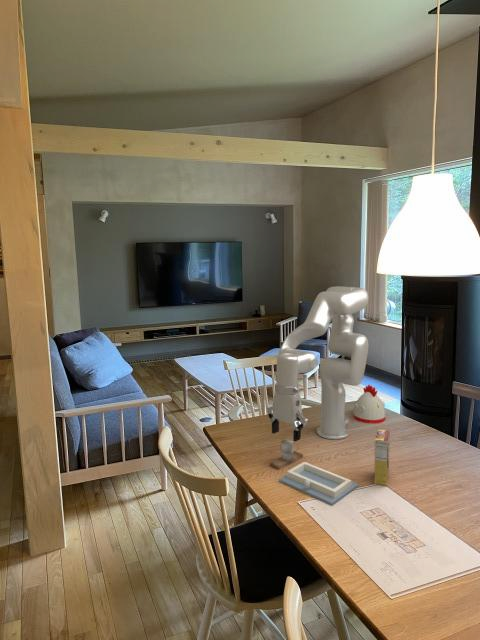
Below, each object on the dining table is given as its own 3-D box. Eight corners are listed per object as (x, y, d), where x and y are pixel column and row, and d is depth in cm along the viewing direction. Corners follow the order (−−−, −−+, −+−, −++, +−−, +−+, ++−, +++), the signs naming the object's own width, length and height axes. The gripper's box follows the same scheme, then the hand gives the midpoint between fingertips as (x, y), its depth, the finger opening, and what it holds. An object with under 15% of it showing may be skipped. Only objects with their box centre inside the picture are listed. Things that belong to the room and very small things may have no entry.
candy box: (375, 471, 155) (377, 428, 153) (389, 473, 154) (390, 430, 151) (373, 484, 147) (374, 439, 144) (387, 486, 145) (389, 441, 143)
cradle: (306, 465, 160) (306, 456, 159) (358, 486, 145) (358, 476, 145) (279, 481, 149) (279, 471, 149) (332, 505, 135) (332, 495, 134)
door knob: (294, 454, 169) (294, 435, 167) (303, 458, 165) (303, 438, 164) (269, 466, 160) (269, 446, 159) (279, 470, 157) (279, 450, 155)
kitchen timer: (366, 425, 194) (368, 391, 192) (346, 415, 207) (347, 383, 204) (392, 420, 200) (393, 387, 198) (370, 410, 212) (372, 379, 210)
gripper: (313, 392, 155) (312, 440, 157) (274, 382, 167) (274, 427, 169) (300, 397, 149) (299, 446, 152) (261, 386, 161) (260, 432, 164)
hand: (285, 436), depth 160 cm, fingers open, 9 cm apart
